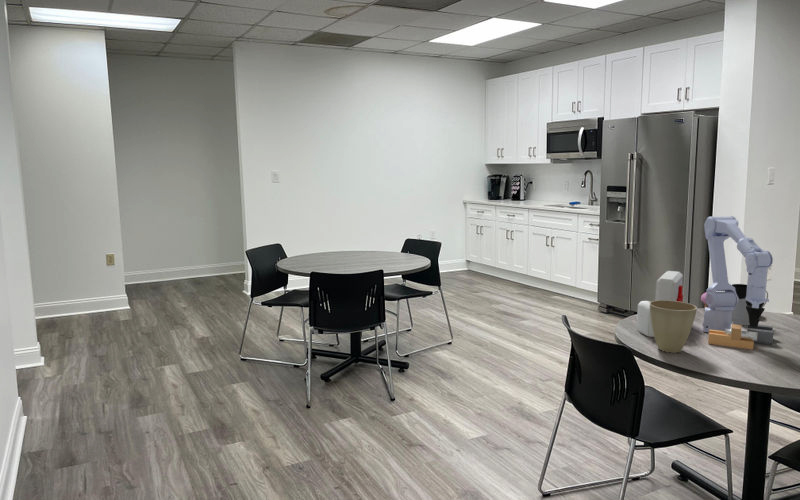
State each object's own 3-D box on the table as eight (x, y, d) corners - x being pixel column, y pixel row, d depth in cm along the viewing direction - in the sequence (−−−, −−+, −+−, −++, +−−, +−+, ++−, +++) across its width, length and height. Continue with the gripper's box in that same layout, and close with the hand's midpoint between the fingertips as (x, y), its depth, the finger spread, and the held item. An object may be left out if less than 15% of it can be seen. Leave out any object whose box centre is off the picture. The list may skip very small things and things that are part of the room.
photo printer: (634, 329, 234) (636, 298, 232) (645, 329, 234) (647, 298, 232) (647, 337, 223) (648, 305, 221) (658, 337, 224) (660, 304, 222)
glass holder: (723, 318, 248) (726, 283, 246) (760, 320, 247) (763, 284, 244) (732, 324, 240) (735, 287, 238) (770, 325, 238) (773, 288, 236)
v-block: (746, 341, 218) (747, 329, 217) (746, 334, 226) (747, 323, 225) (772, 344, 214) (773, 332, 213) (771, 337, 222) (772, 326, 221)
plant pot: (676, 359, 199) (679, 312, 196) (637, 347, 211) (640, 303, 209) (703, 351, 207) (706, 306, 204) (664, 340, 219) (666, 298, 217)
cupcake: (698, 314, 255) (700, 291, 254) (701, 310, 262) (702, 288, 261) (722, 317, 251) (724, 294, 249) (724, 313, 258) (725, 290, 256)
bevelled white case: (675, 332, 230) (678, 280, 227) (653, 329, 234) (656, 278, 231) (683, 319, 248) (686, 271, 245) (662, 317, 252) (664, 270, 249)
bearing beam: (707, 343, 216) (709, 325, 215) (708, 339, 221) (710, 321, 220) (753, 349, 209) (754, 330, 208) (752, 344, 214) (754, 326, 213)
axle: (724, 338, 214) (724, 330, 213) (724, 335, 217) (725, 327, 216) (756, 342, 209) (757, 334, 208) (756, 339, 212) (757, 331, 211)
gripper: (770, 291, 200) (767, 330, 202) (769, 283, 213) (766, 320, 215) (746, 288, 204) (743, 327, 206) (746, 281, 216) (743, 318, 218)
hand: (753, 323), depth 210 cm, fingers open, 7 cm apart
